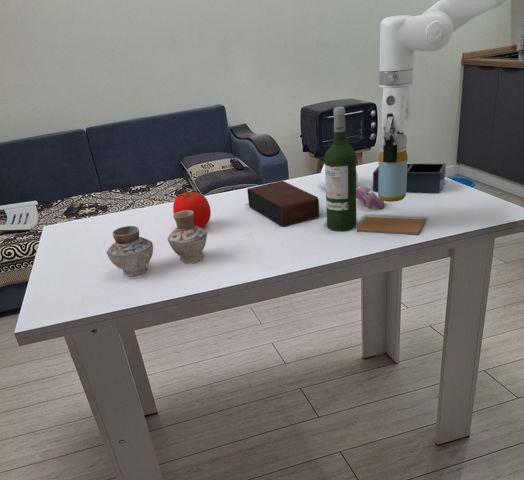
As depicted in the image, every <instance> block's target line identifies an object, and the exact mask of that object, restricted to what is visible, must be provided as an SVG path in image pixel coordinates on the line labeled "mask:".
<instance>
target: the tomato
mask: <svg viewBox="0 0 524 480" xmlns="http://www.w3.org/2000/svg"><path fill="white" fill-rule="evenodd" d="M185 210H189V211H193V212H194V216H193V220H194V225H195V226H198V227H200V228H202V229H204V228H205V227H206V226H207V225H208V223H209V222H210V219H211V217H212V216H211V215H212V214H211V213H212V211H211V206H210V203H209V200H208V199H207V197H205V195H204V194H202V193H199V192H198V191H197V192H196V191H195V192H194V191H187V192H183V193H180V194H178V195H176V197H175V199H174V201H173V205H172V212H173V213H172V214H173V215H174V214H175V213H177V212H180V211H185Z"/></svg>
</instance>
